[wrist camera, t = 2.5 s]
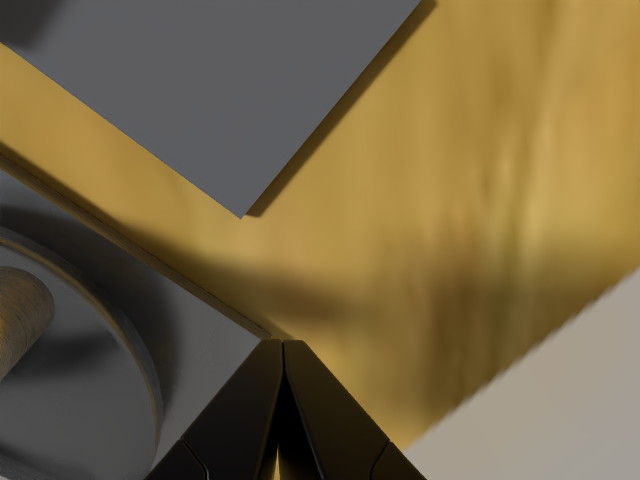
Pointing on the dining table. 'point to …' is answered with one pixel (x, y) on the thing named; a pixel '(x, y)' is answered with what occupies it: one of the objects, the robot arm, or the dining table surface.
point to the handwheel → (70, 374)
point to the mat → (207, 74)
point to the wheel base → (139, 298)
